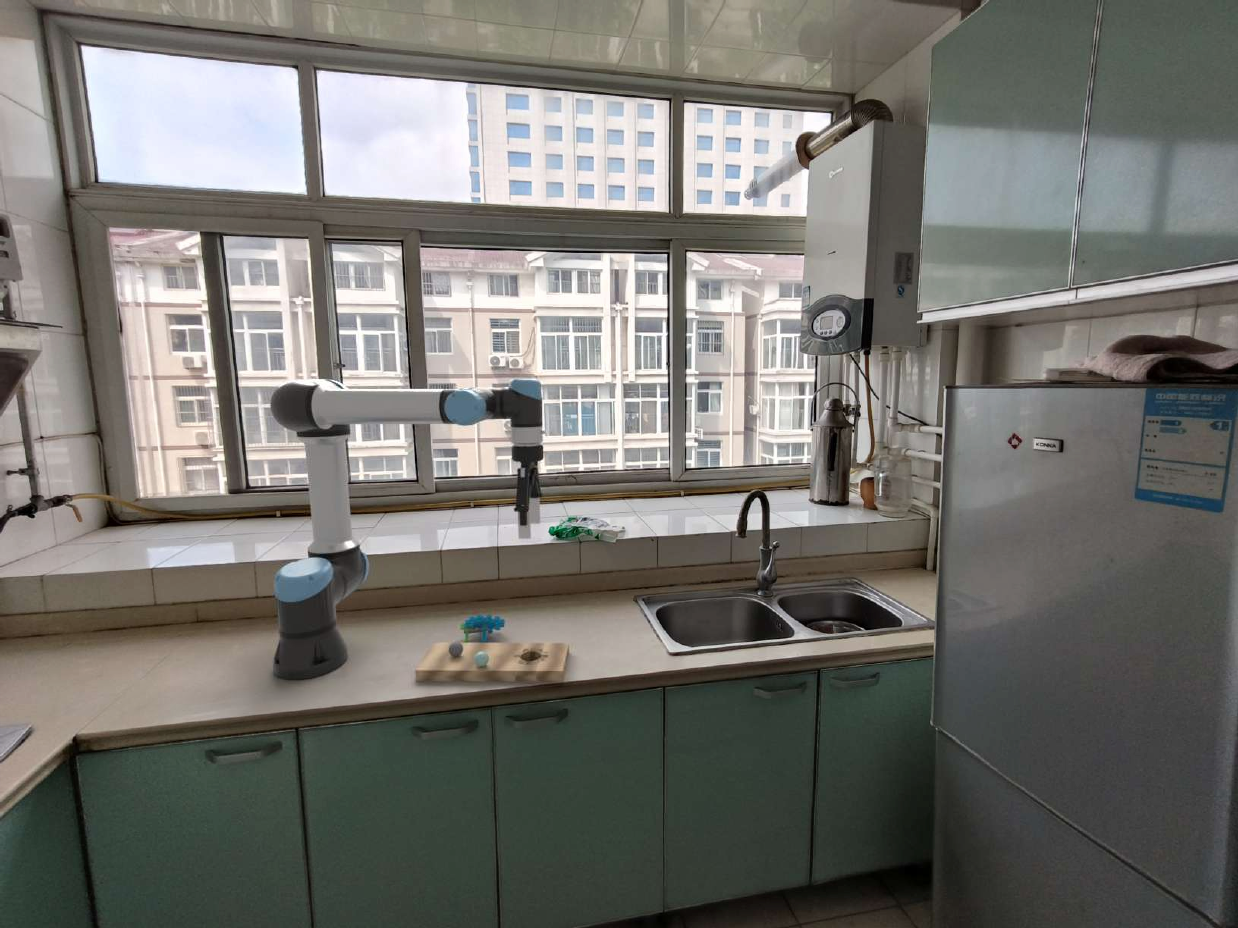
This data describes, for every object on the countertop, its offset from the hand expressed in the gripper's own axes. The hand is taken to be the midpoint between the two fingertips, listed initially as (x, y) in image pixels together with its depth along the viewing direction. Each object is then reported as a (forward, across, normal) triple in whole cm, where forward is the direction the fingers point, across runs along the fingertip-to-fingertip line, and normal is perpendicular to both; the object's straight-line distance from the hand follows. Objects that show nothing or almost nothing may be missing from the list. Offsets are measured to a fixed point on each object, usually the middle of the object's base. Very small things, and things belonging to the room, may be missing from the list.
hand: (530, 530), depth 140 cm
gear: (+28, 0, +13) cm, 31 cm away
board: (+28, -14, +6) cm, 32 cm away
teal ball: (+24, -19, +8) cm, 31 cm away
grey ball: (+24, -14, +15) cm, 32 cm away
